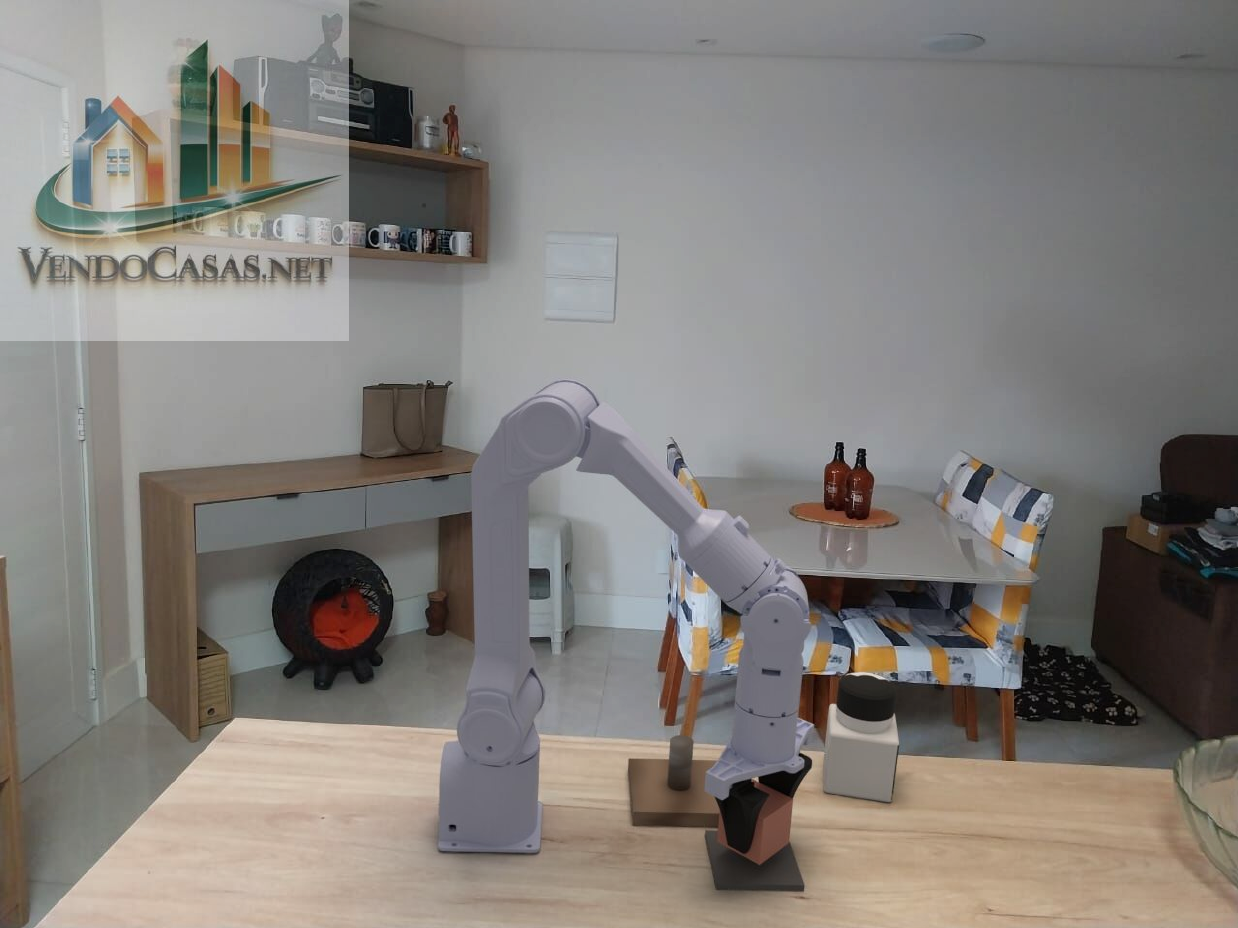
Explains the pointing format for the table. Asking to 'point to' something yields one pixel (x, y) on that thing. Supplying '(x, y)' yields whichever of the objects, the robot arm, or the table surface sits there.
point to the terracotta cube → (766, 826)
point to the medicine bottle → (862, 739)
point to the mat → (752, 869)
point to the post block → (672, 789)
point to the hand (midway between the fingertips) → (754, 835)
